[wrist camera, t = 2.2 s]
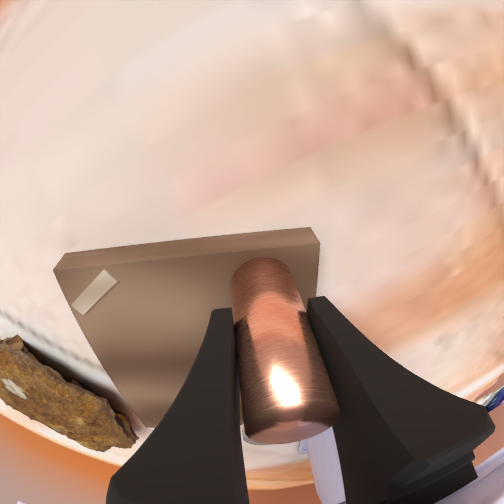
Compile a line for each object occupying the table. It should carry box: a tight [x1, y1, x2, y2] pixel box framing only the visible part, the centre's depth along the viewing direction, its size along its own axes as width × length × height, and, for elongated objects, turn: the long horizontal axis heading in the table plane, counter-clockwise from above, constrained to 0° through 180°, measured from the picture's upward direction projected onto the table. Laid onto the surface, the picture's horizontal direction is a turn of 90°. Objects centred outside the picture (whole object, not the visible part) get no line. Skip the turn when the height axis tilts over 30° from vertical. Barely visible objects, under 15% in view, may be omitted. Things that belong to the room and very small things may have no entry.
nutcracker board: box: [53, 227, 320, 428], centre depth 16 cm, size 15×12×2 cm
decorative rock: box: [0, 335, 139, 452], centre depth 17 cm, size 11×4×15 cm
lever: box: [231, 257, 341, 445], centre depth 13 cm, size 14×4×6 cm, turn 3°
